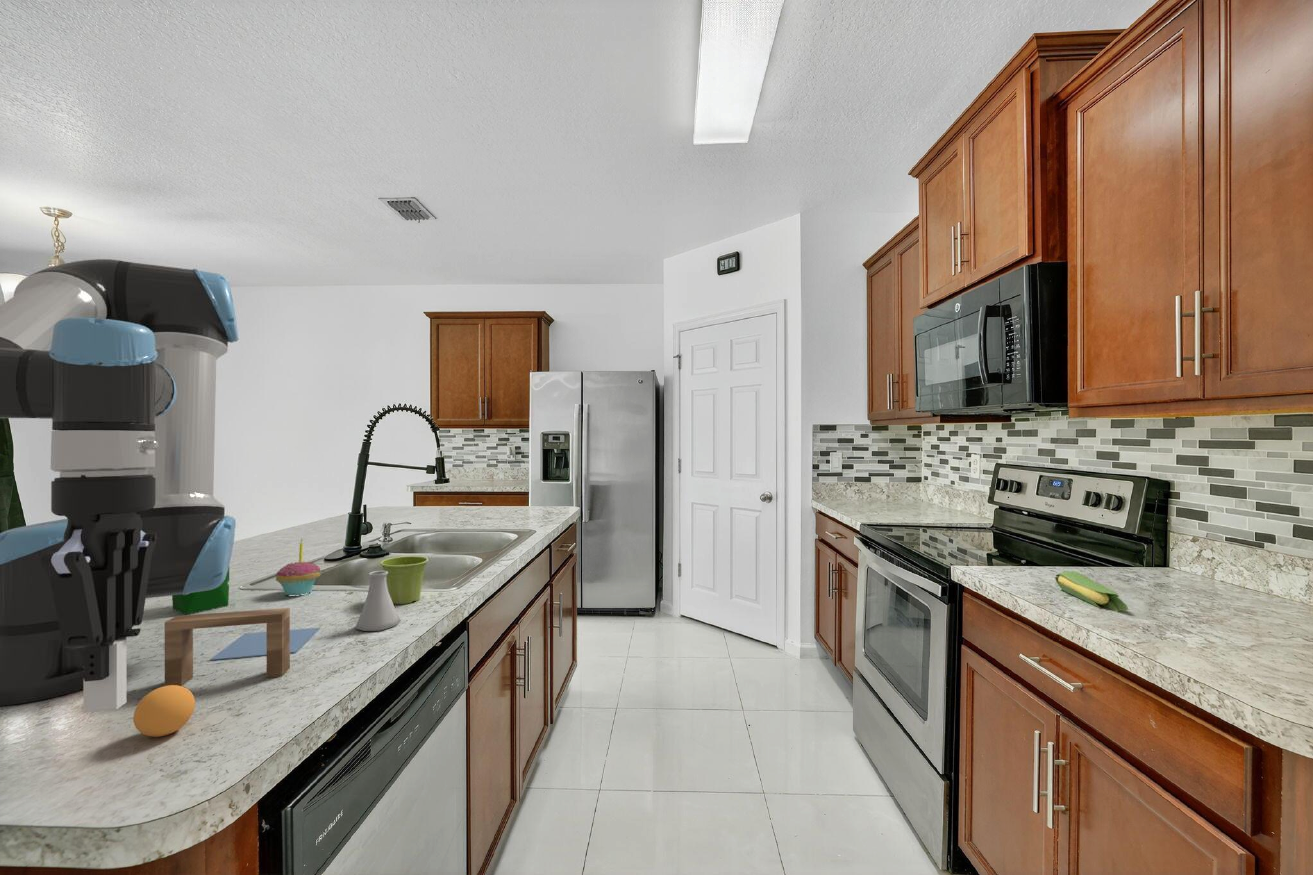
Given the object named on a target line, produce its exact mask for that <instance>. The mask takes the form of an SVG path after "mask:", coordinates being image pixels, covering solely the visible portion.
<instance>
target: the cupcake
mask: <svg viewBox="0 0 1313 875" xmlns="http://www.w3.org/2000/svg"><path fill="white" fill-rule="evenodd" d="M298 552H299V553H298V555H299V557H298V562H290V563H288V564H285V565H284V566H283V567H282V568H280V569H279V570H278V571H277V572H276V574H275V575H276V577H275V581H277V582H278V583H279V584H280V586H282V588H283V591H284V594H285V596H286V595H301V594H306V593H308V592H310V593H312V589H313V586H314V583H315V581H316V580H317V578H320V577H321V568H320V566H319V565H317V564H316V563H314V562H310V561H307V562H306V561H303V557H304V542H303V539H302V538H301V540H300V543H299V550H298Z"/></svg>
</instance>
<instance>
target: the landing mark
mask: <svg viewBox="0 0 1313 875" xmlns="http://www.w3.org/2000/svg"><path fill="white" fill-rule="evenodd" d="M319 630H321V627H311V628H310V627H309V628H299V629H290V654H296V653H298V652H299V651H300V650H301V649H302V648H303V646H304V645H306V643H308V642H309V640H310V639H311V638H313V636H314V635H315V634H316V633H317V632H318V631H319ZM265 656H266V657H267V631H260V632H250V633H249V632H247V633H243V634H242V635H240V636H239V637H238V638H237V639H236V640H234V641H233V642H231V643H230V644H229V645H227V646H226V647H224V648H223V649H222V650H221V651H219V652H217V653H216V654H215V655H214V656H213V657H211V658H210V659H209V661H213V662H214V661H221V660H222V661H223V660H224V661H225V660H233V659H243V658H244V659H245V658H256V657H265Z"/></svg>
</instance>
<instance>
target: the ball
mask: <svg viewBox="0 0 1313 875" xmlns="http://www.w3.org/2000/svg"><path fill="white" fill-rule="evenodd" d="M195 706H196V700H195V697H194V695H193V693H192V692H191V691H190V690H189V689H188V688H186V687H184V686H183V685H182V686H178V685H169V686H165V685H164V686H160V687H157V688H155V689H154V690H151V691H150V692H148V693H147V694H146V695H145V696H144V697H143V698H142V699H141V700H139V702H138V704H137V705H136V707H135V710H134V712H133V718H132V720H133V724H134V727H135V729H136V730H137V731H138V732H139V733H141V734H143V735H144V736H147V737H151V738H153V737H154V738H157V737H164V736H168V735H170V734H173V733H174V732H177V731H178V730H180V729H181V728H182V727H184V726H185V724H187V722H189V720H190V719H191V717H192V716H193V714H194V712H195V708H196V707H195Z"/></svg>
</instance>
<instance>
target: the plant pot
mask: <svg viewBox="0 0 1313 875" xmlns="http://www.w3.org/2000/svg"><path fill="white" fill-rule="evenodd" d="M428 562H429V558H428V557H426V556H421V555H420V556H418V555H417V556H415V555H410V556H409V555H406V556H398V557H391V558H390V557H389V558H387V559H386V558H385V559H384V560H382V561H380V565H381V567H382V569H383V570H382V571H388V574H387V575H386V583H387V588H388V592H389V595H390V597H391V600H392V602H393V604H395V605H404V604H405V605H408V604H411V603H413V602H414V601H415V602H418V601H419V600H420V599H421V594H422V593H421V592H422V588H423V587H422V586H423V580H424V573H425V569H426V566H427V563H428Z"/></svg>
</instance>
